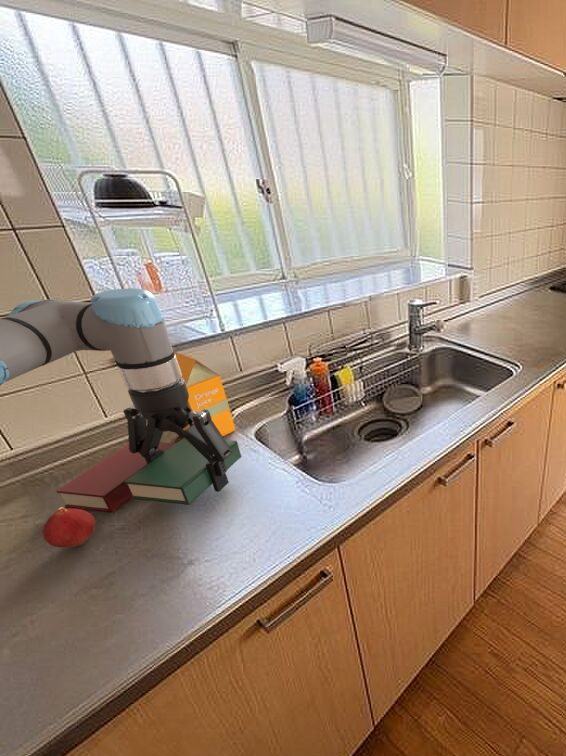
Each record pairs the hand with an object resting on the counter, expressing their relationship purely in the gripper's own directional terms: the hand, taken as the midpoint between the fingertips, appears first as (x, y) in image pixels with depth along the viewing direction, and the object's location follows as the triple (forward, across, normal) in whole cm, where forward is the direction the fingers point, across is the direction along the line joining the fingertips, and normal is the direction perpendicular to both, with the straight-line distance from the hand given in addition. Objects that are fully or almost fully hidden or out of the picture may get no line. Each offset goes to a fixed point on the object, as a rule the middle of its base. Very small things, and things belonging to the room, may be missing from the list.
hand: (194, 484), depth 81 cm
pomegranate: (+2, +9, +14) cm, 17 cm away
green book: (-2, 0, 0) cm, 2 cm away
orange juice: (+2, +12, -19) cm, 23 cm away
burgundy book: (+2, +15, -1) cm, 15 cm away
